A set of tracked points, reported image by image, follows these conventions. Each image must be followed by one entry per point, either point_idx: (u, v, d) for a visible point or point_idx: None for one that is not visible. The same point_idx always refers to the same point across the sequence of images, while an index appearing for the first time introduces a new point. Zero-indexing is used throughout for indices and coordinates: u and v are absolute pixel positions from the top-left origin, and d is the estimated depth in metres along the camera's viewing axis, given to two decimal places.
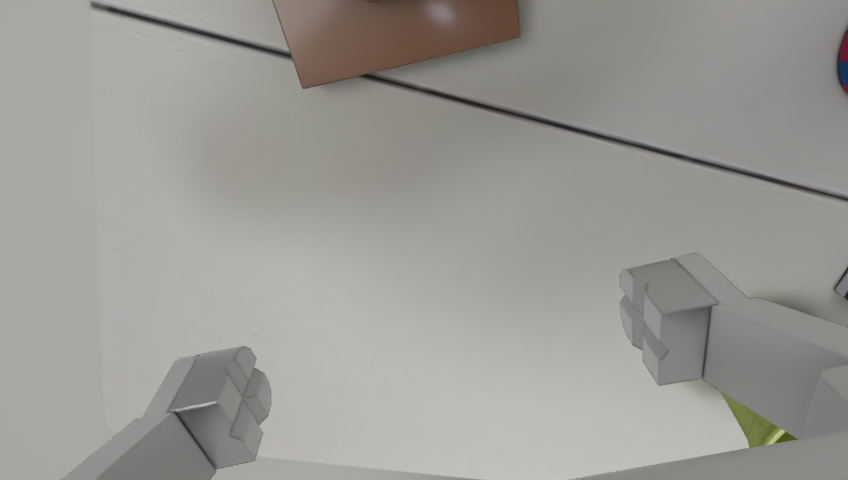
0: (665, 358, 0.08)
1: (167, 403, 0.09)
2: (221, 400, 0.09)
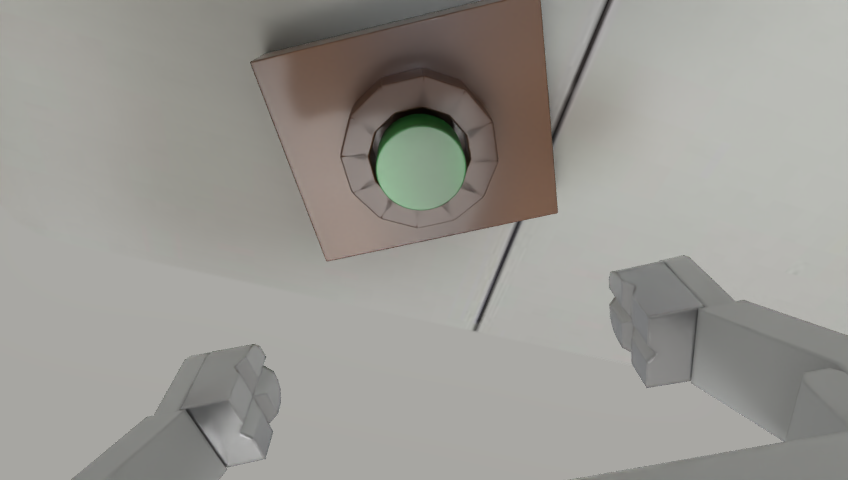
0: (653, 360, 0.08)
1: (178, 401, 0.09)
2: (232, 398, 0.09)
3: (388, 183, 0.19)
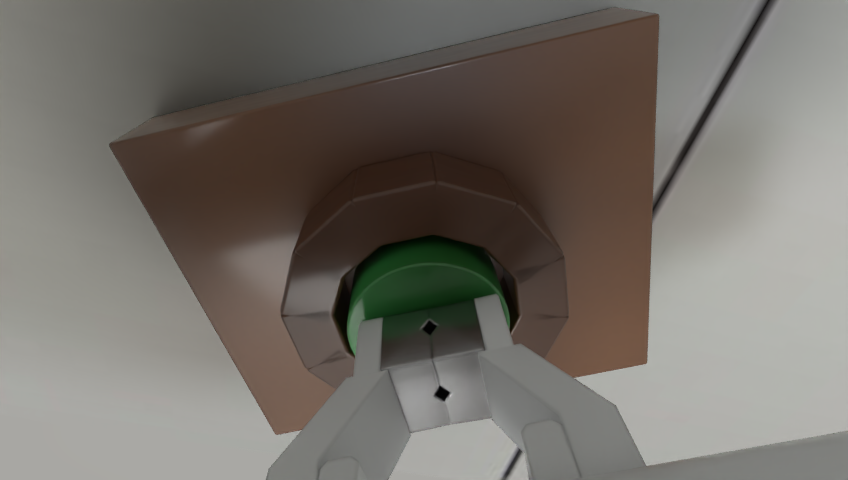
0: (449, 399, 0.09)
1: (375, 362, 0.08)
2: (433, 358, 0.08)
3: None
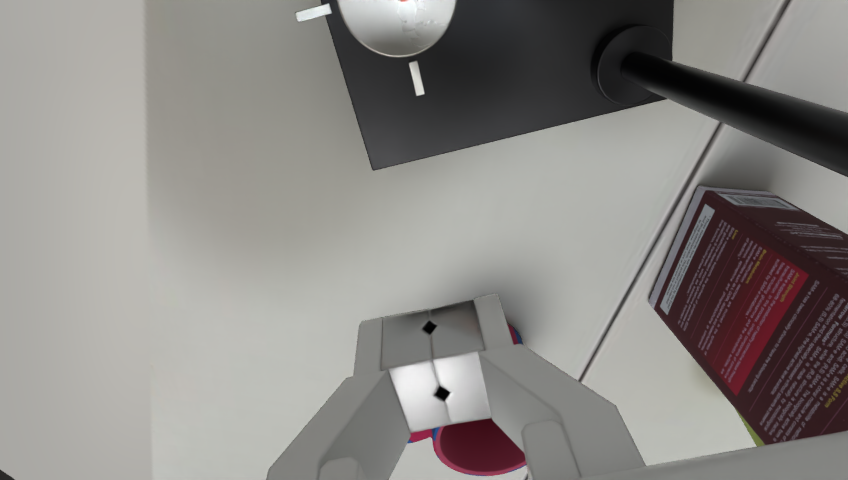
0: (449, 399, 0.09)
1: (375, 362, 0.08)
2: (433, 358, 0.08)
3: None
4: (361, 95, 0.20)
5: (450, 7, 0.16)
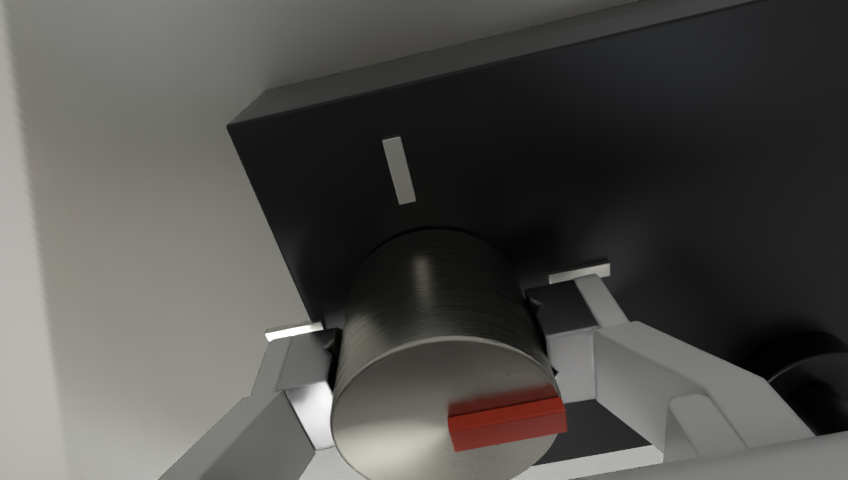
0: (556, 378, 0.09)
1: (273, 382, 0.09)
2: (329, 379, 0.09)
3: None
4: None
5: (545, 442, 0.08)
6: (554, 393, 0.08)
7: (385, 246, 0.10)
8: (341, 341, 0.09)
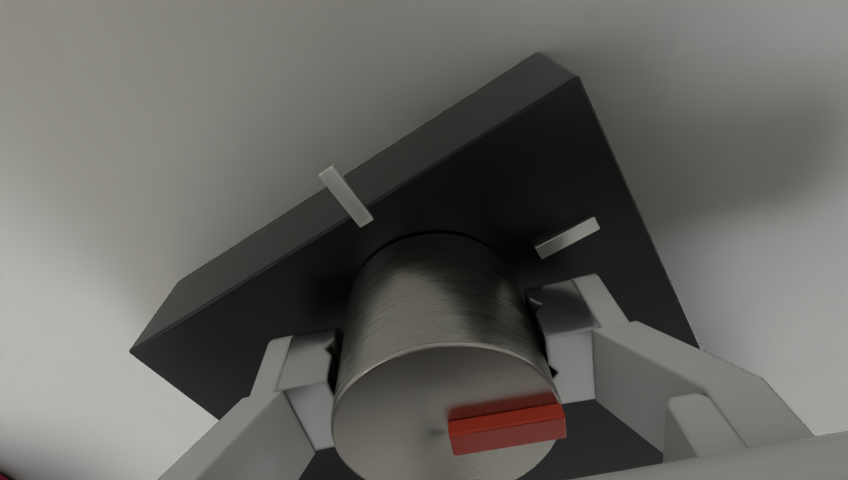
0: (555, 379, 0.09)
1: (273, 382, 0.09)
2: (329, 379, 0.09)
3: None
4: (248, 302, 0.11)
5: (544, 447, 0.08)
6: (554, 399, 0.08)
7: (387, 249, 0.10)
8: (342, 343, 0.09)
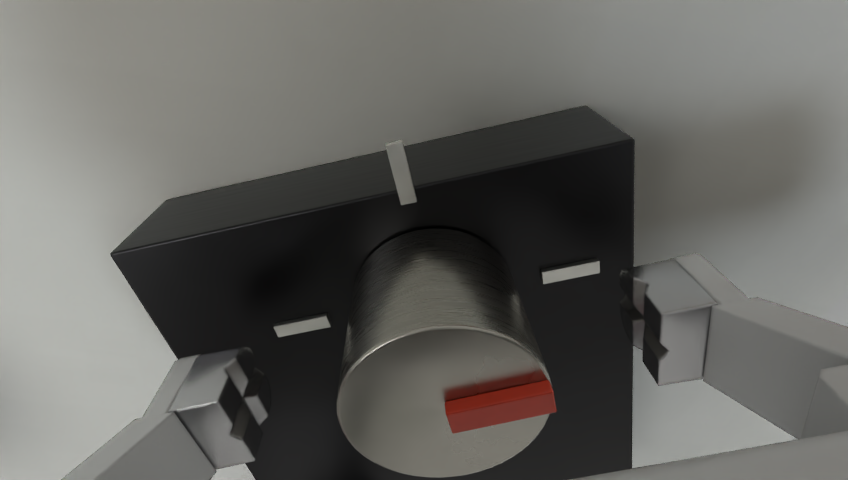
0: (665, 357, 0.08)
1: (167, 403, 0.09)
2: (221, 400, 0.09)
3: None
4: (261, 241, 0.11)
5: (538, 423, 0.09)
6: (543, 376, 0.08)
7: (385, 246, 0.11)
8: (346, 335, 0.10)
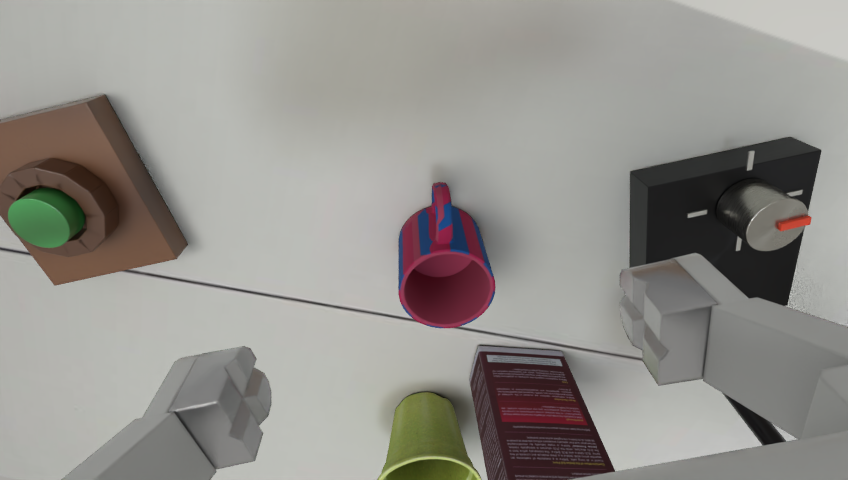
0: (665, 358, 0.08)
1: (167, 403, 0.09)
2: (221, 400, 0.09)
3: (21, 205, 0.29)
4: (696, 183, 0.33)
5: (800, 230, 0.31)
6: (806, 214, 0.31)
7: (738, 184, 0.33)
8: (734, 210, 0.32)
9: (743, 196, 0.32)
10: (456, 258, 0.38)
